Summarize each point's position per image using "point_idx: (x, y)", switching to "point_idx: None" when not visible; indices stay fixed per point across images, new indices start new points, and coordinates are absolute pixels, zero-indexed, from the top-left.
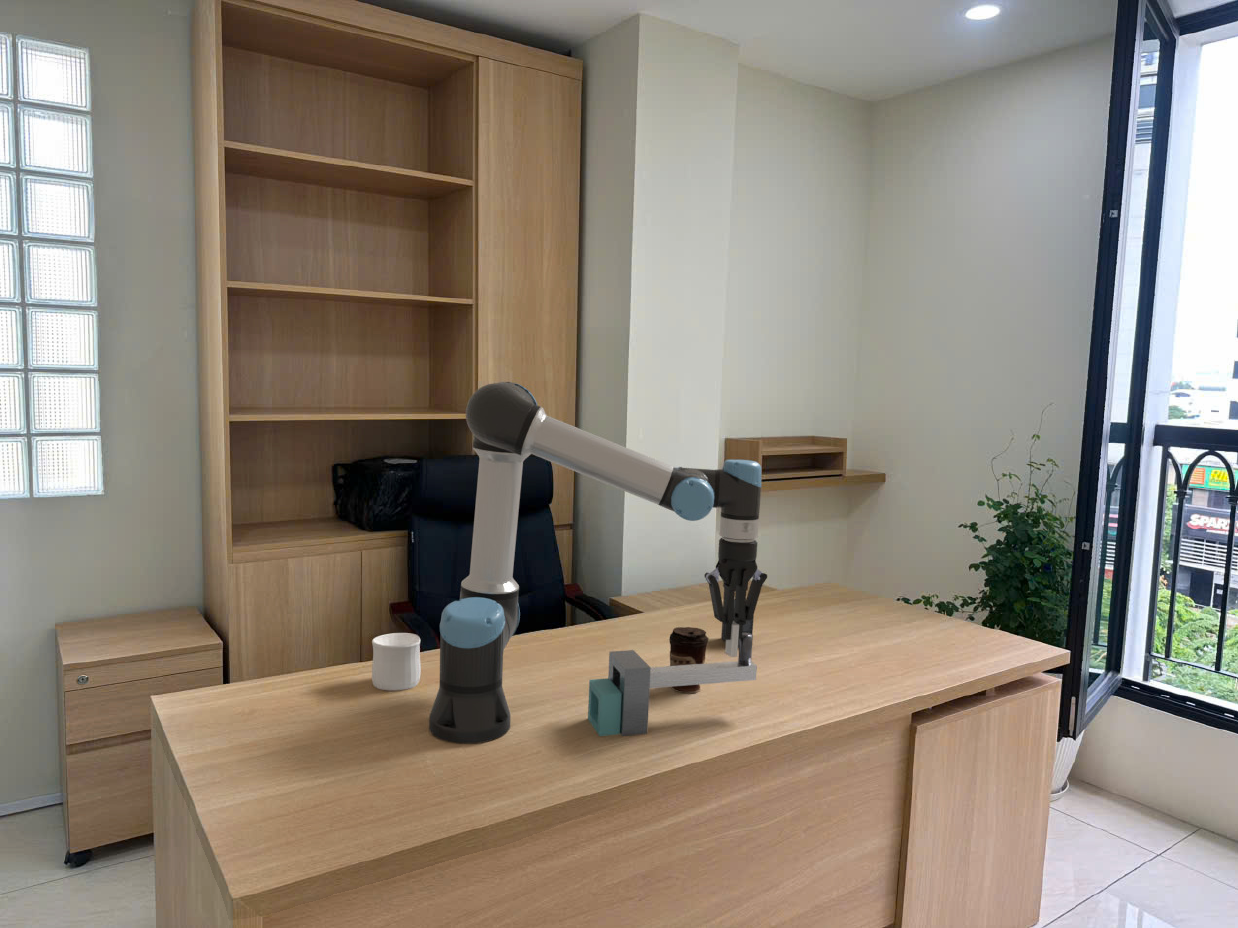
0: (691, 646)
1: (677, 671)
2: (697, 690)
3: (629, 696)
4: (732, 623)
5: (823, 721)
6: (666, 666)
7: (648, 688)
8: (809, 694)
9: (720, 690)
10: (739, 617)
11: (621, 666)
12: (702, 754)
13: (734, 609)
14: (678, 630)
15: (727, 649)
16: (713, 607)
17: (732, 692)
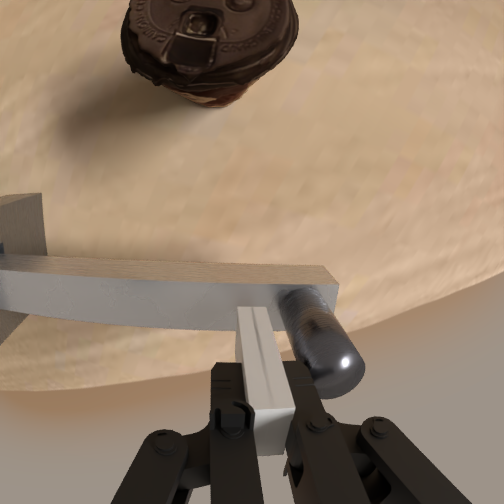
0: (181, 89)
1: (56, 317)
2: (231, 102)
3: None
4: (260, 439)
5: (396, 313)
6: (32, 274)
7: (7, 334)
8: (453, 198)
9: (297, 106)
10: (292, 484)
11: None
12: (125, 375)
13: (310, 478)
14: None
15: (237, 335)
16: (119, 499)
17: (320, 127)
